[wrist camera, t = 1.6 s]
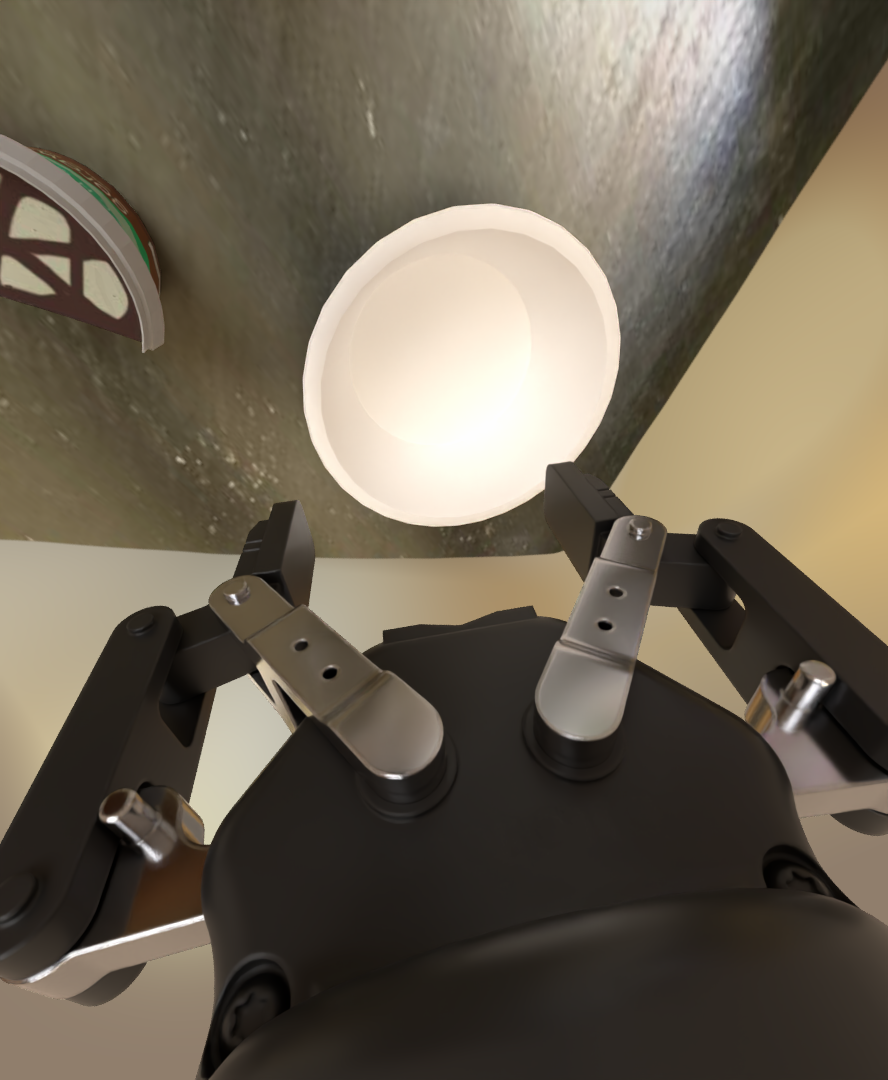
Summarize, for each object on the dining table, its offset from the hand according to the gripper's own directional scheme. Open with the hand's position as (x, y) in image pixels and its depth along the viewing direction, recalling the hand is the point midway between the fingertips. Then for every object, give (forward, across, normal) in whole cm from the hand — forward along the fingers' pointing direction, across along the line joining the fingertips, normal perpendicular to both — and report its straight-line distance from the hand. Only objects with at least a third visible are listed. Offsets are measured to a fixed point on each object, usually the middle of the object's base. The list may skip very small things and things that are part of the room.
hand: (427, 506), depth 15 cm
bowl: (+26, -4, +2) cm, 26 cm away
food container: (+22, +17, -10) cm, 30 cm away
